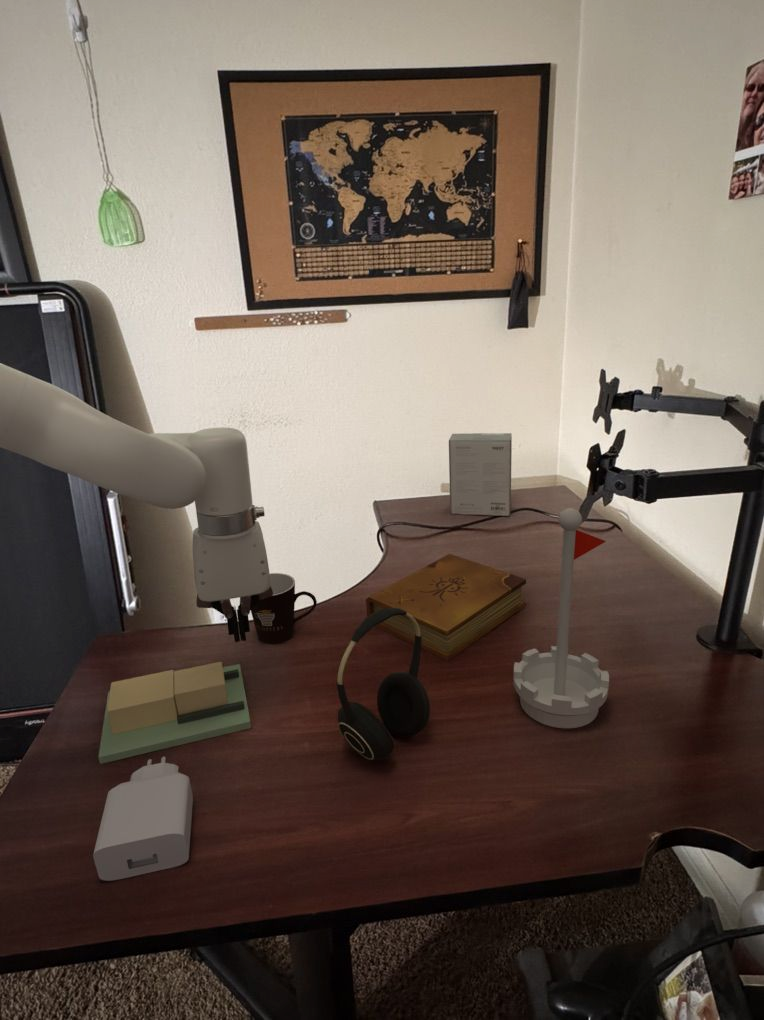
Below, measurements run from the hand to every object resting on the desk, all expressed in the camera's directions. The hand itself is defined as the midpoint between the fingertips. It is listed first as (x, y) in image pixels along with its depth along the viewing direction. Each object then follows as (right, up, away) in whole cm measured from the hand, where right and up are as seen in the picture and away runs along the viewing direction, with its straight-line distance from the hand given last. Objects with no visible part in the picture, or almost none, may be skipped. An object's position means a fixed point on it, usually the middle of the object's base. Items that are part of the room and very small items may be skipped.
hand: (239, 636), depth 92 cm
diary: (+33, -1, +24) cm, 41 cm away
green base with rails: (-9, -11, +1) cm, 15 cm away
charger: (-6, -18, -17) cm, 26 cm away
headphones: (+21, -13, -7) cm, 26 cm away
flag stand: (+46, -10, -1) cm, 47 cm away
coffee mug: (+3, -4, +19) cm, 20 cm away
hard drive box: (+47, +18, +73) cm, 88 cm away
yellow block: (-6, -10, +2) cm, 11 cm away
